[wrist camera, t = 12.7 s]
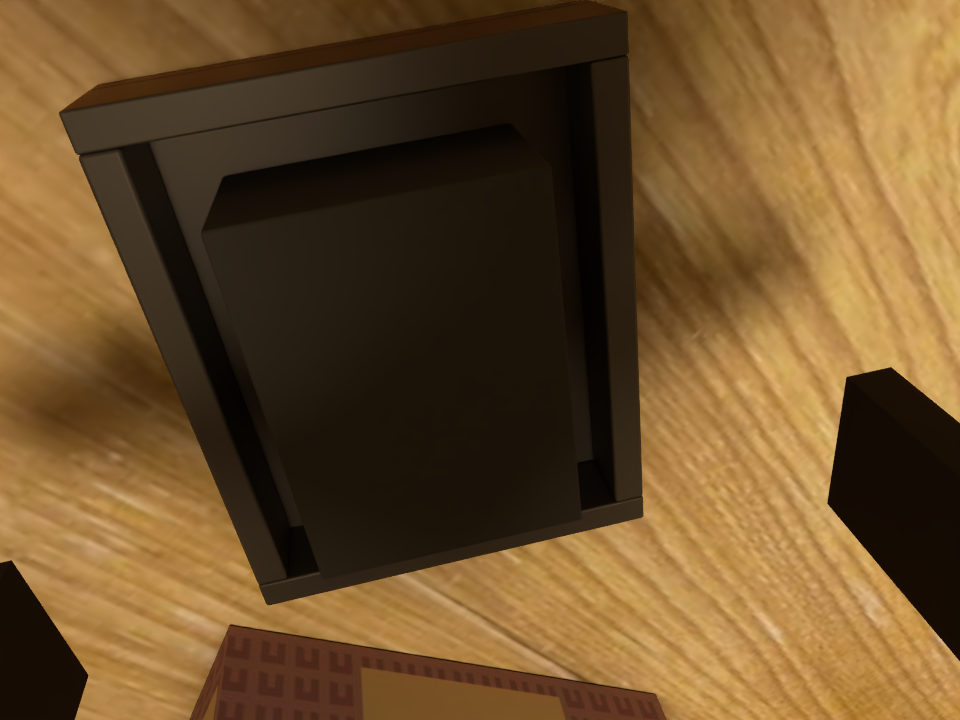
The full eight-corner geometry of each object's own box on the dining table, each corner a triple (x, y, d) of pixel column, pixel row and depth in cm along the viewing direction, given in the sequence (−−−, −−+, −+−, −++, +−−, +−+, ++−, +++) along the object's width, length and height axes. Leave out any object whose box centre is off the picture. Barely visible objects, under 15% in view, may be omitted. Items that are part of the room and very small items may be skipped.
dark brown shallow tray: (94, 85, 16) (57, 112, 13) (587, -2, 16) (629, 10, 14) (272, 539, 22) (266, 607, 20) (613, 461, 23) (644, 518, 21)
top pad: (221, 175, 16) (198, 232, 13) (511, 121, 17) (551, 164, 14) (322, 487, 21) (322, 581, 18) (547, 438, 22) (583, 520, 19)
